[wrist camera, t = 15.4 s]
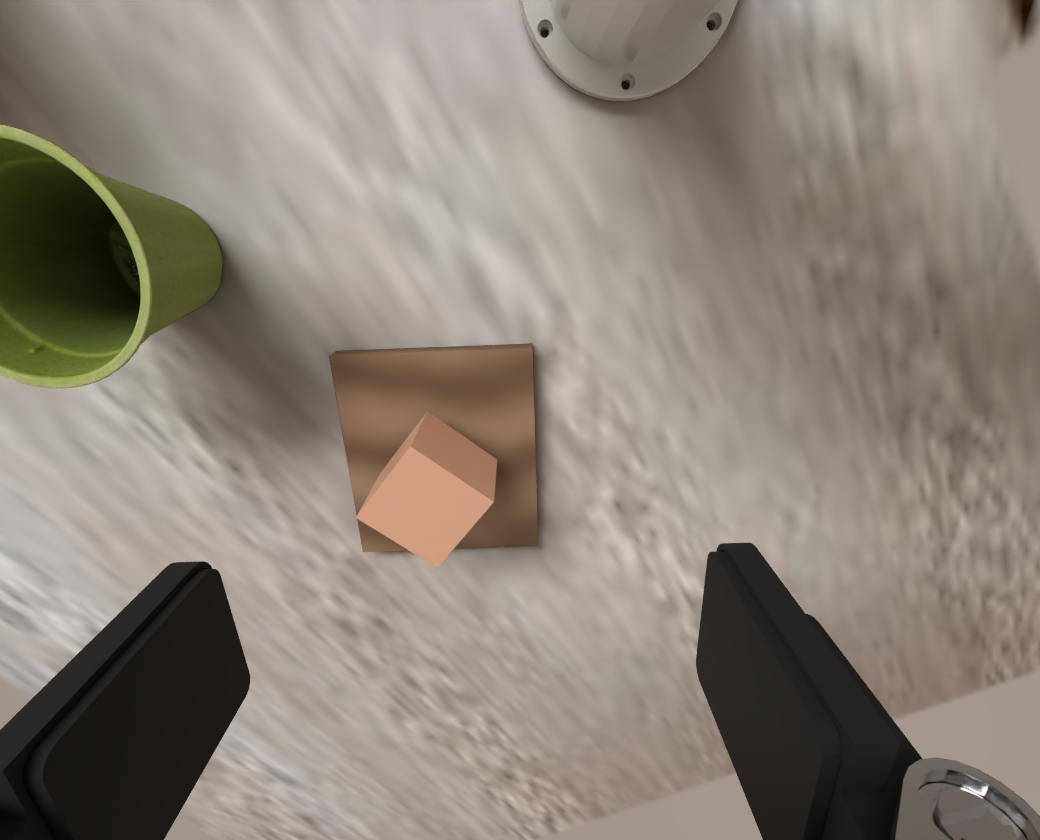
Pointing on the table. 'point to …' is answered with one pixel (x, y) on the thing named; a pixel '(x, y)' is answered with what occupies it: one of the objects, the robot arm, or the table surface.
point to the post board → (458, 403)
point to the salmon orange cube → (431, 491)
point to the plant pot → (89, 265)
